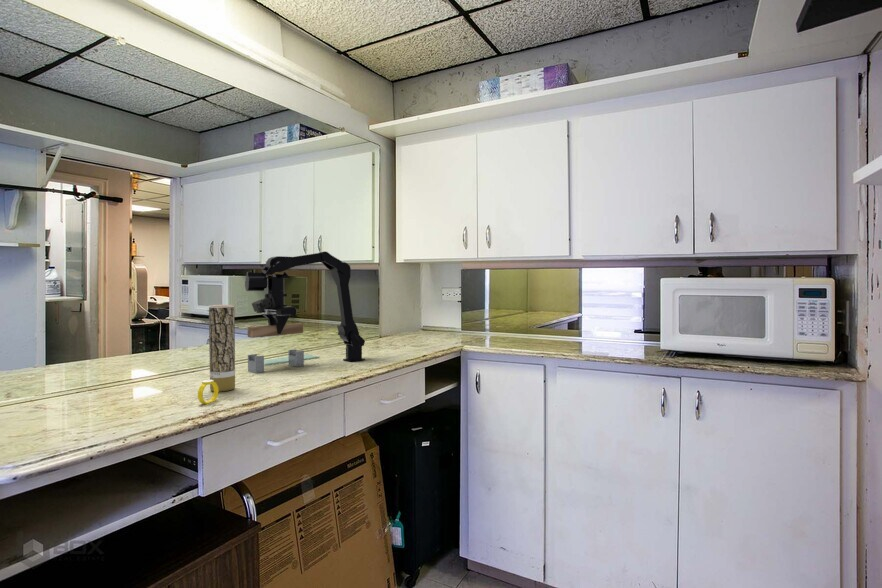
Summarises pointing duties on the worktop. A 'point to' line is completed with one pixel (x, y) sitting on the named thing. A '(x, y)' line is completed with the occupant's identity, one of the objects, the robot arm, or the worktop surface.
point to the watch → (201, 389)
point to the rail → (274, 330)
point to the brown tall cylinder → (222, 346)
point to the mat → (285, 359)
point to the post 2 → (296, 357)
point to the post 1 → (255, 363)
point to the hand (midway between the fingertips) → (276, 333)
